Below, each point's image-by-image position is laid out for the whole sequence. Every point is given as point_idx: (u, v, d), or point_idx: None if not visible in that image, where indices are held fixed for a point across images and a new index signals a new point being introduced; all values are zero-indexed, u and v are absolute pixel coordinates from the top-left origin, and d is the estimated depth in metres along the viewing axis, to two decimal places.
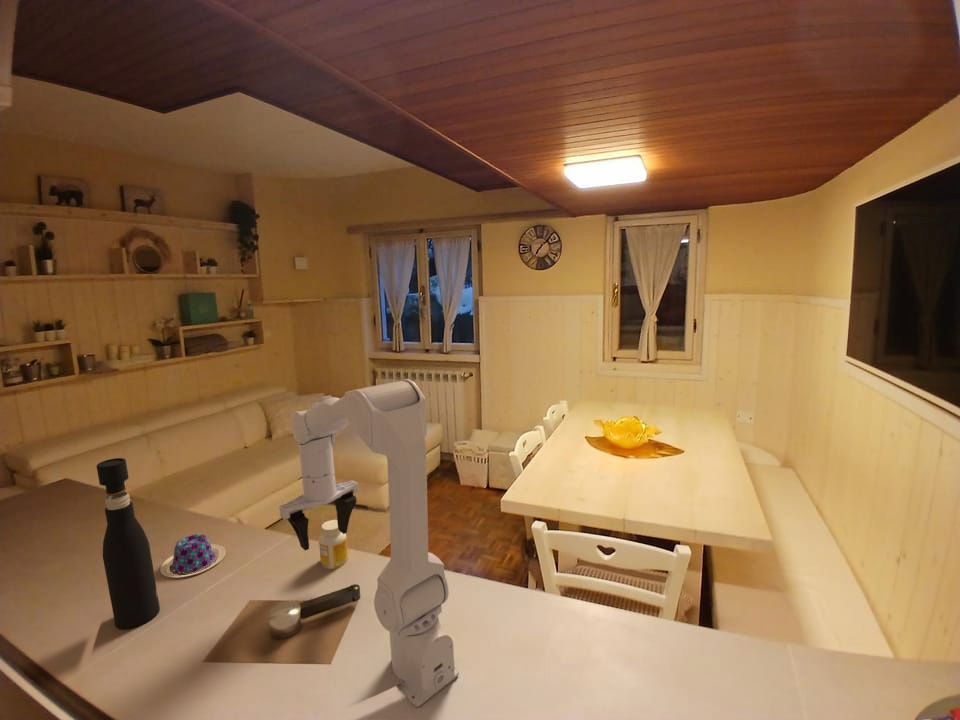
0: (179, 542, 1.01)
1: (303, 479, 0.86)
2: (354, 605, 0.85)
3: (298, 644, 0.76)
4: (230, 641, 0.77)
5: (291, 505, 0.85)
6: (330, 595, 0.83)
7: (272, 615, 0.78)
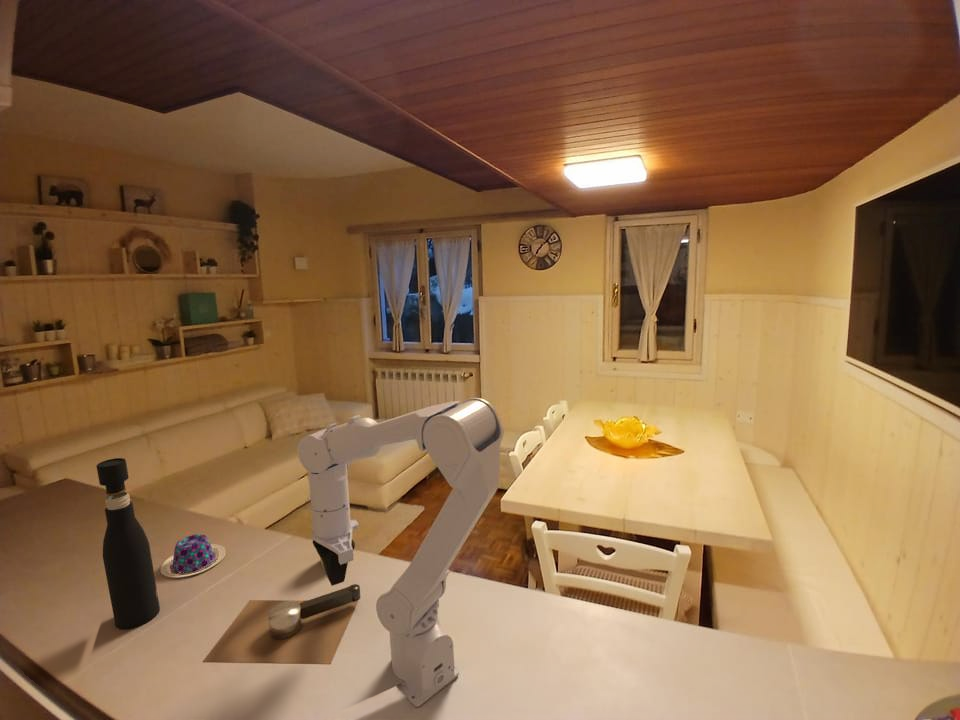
0: (179, 542, 1.01)
1: None
2: (354, 605, 0.85)
3: (298, 644, 0.76)
4: (230, 641, 0.77)
5: None
6: (330, 595, 0.83)
7: (272, 615, 0.78)
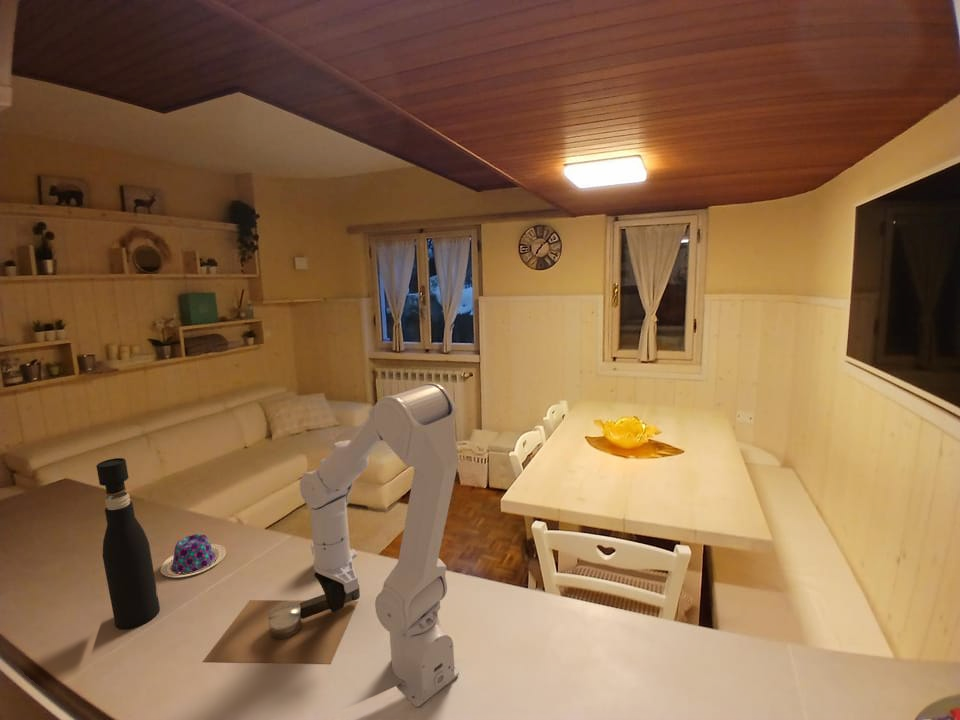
0: (179, 542, 1.01)
1: None
2: (354, 605, 0.85)
3: (298, 644, 0.76)
4: (230, 641, 0.77)
5: None
6: None
7: (272, 615, 0.78)
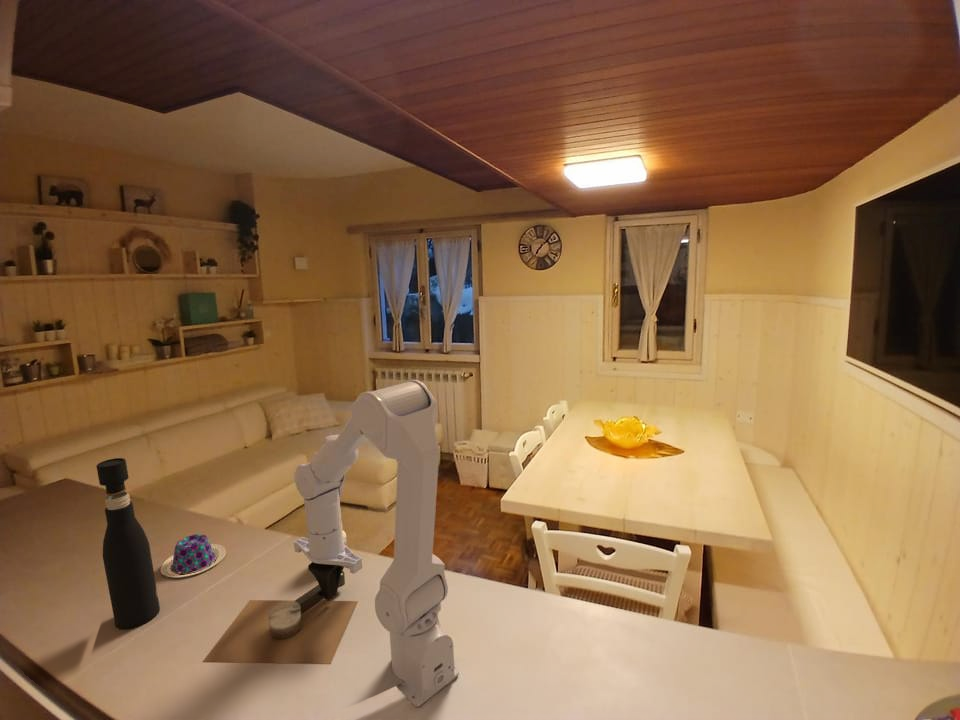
0: (179, 542, 1.01)
1: None
2: (354, 605, 0.85)
3: (298, 644, 0.76)
4: (230, 641, 0.77)
5: (304, 542, 0.86)
6: None
7: (274, 618, 0.78)
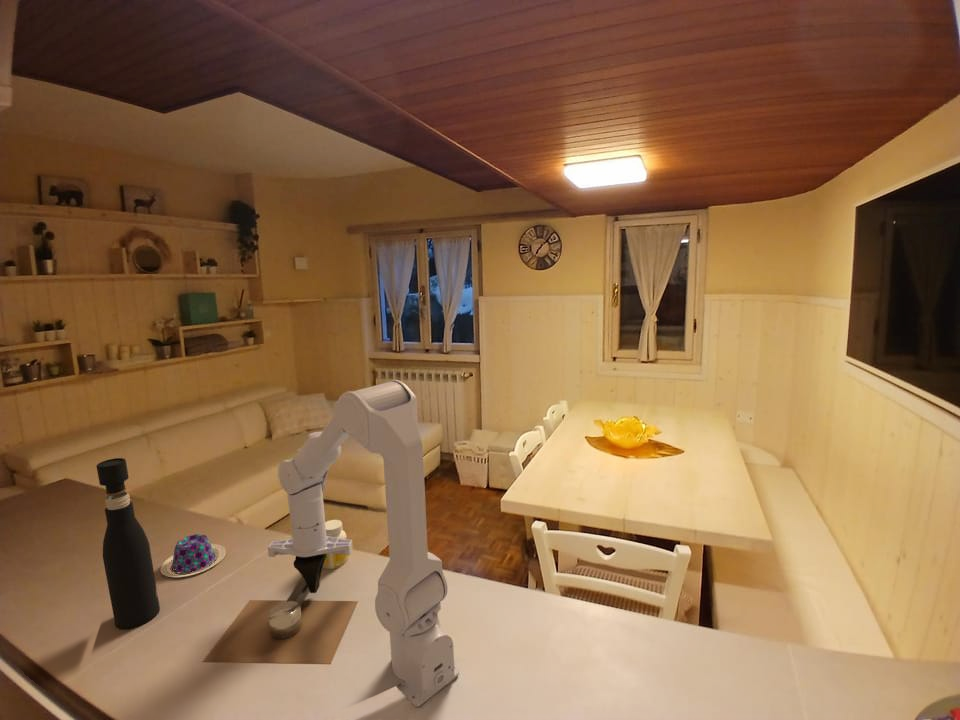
0: (180, 541, 1.01)
1: None
2: (354, 605, 0.85)
3: (298, 644, 0.76)
4: (230, 641, 0.77)
5: (279, 545, 0.86)
6: (303, 582, 0.87)
7: (279, 619, 0.77)
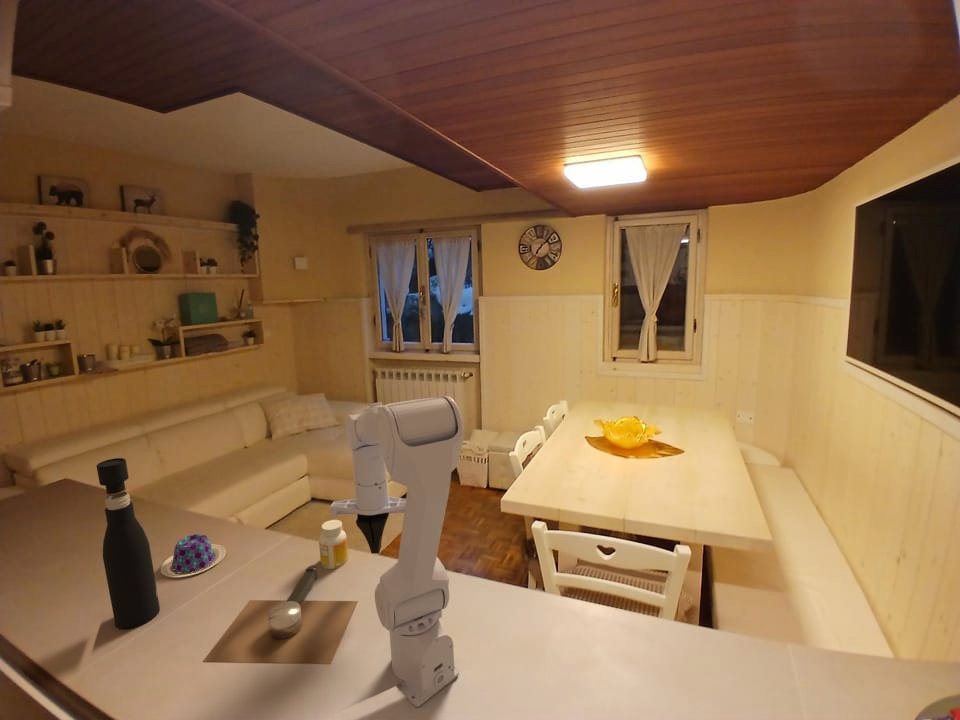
0: (180, 541, 1.01)
1: None
2: (354, 605, 0.85)
3: (298, 644, 0.76)
4: (230, 641, 0.77)
5: (341, 504, 0.84)
6: (303, 582, 0.87)
7: (279, 619, 0.77)
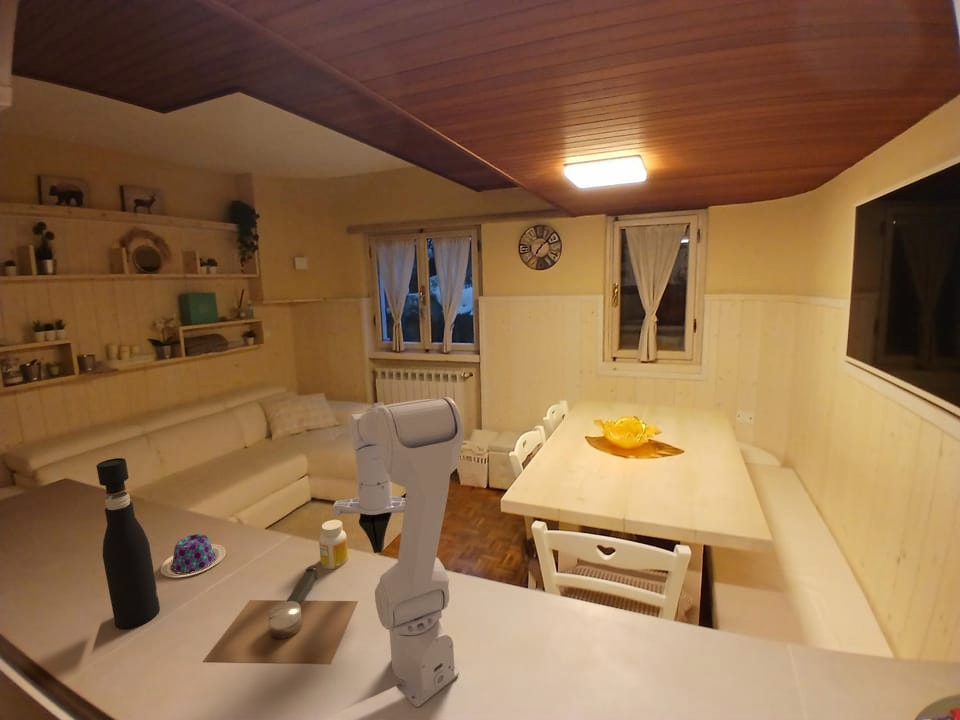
0: (180, 541, 1.01)
1: None
2: (354, 605, 0.85)
3: (298, 644, 0.76)
4: (230, 641, 0.77)
5: (344, 504, 0.85)
6: (303, 582, 0.87)
7: (279, 619, 0.77)
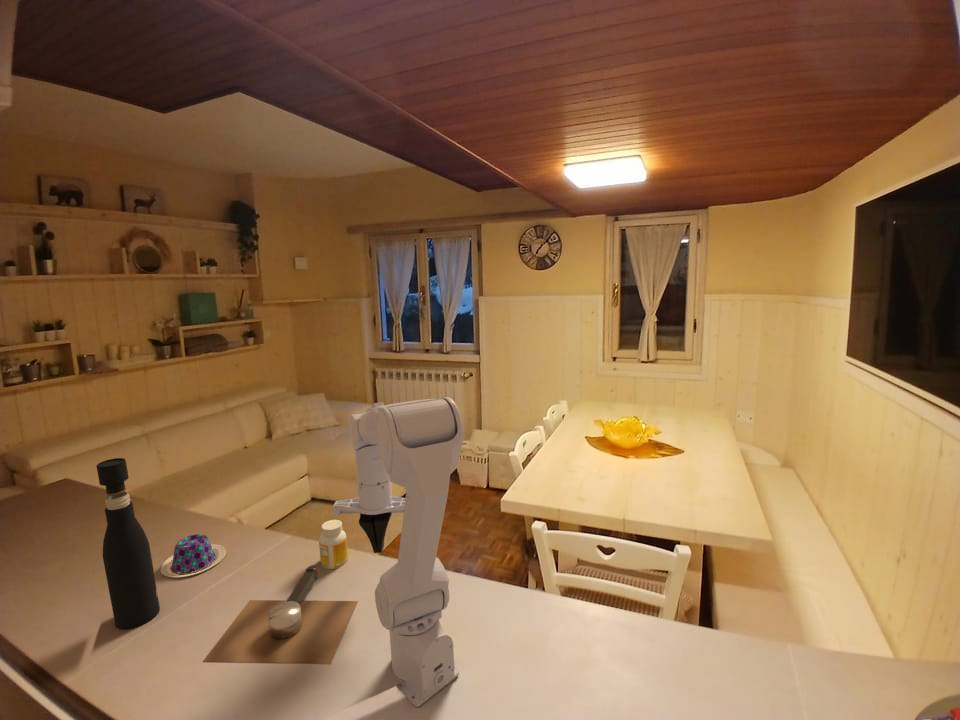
0: (180, 541, 1.01)
1: None
2: (354, 605, 0.85)
3: (298, 644, 0.76)
4: (230, 641, 0.77)
5: (344, 504, 0.85)
6: (303, 582, 0.87)
7: (279, 619, 0.77)
